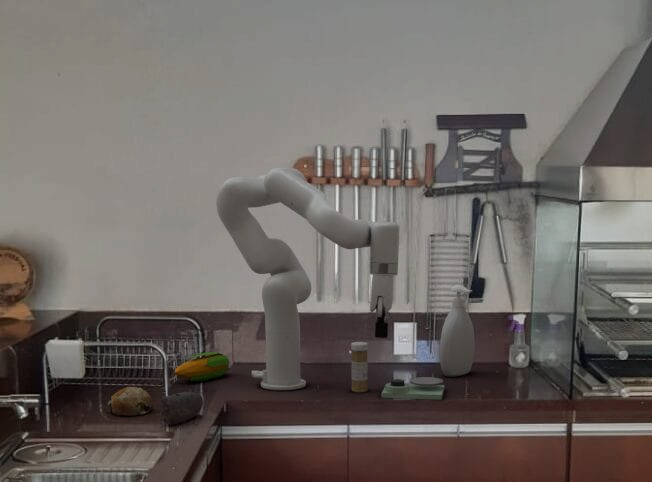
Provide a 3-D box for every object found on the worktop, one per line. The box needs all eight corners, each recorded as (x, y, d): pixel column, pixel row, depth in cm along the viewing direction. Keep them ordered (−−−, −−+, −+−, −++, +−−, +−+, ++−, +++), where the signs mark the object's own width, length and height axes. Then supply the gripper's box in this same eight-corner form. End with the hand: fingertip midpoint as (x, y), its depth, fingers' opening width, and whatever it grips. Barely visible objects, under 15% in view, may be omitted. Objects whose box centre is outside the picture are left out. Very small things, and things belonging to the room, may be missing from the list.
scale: (381, 398, 239) (381, 387, 238) (387, 388, 251) (387, 377, 250) (441, 400, 237) (441, 389, 236) (444, 390, 249) (444, 379, 248)
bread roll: (129, 432, 216) (139, 404, 214) (96, 410, 219) (107, 382, 217) (154, 422, 226) (164, 395, 223) (123, 401, 228) (133, 375, 226)
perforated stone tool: (193, 412, 221) (193, 384, 220) (211, 414, 219) (210, 387, 218) (153, 426, 208) (152, 397, 207) (172, 429, 206) (171, 399, 205)
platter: (408, 385, 241) (408, 383, 240) (412, 378, 249) (412, 376, 249) (442, 386, 240) (442, 384, 239) (444, 379, 248) (444, 377, 248)
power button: (390, 387, 239) (390, 381, 239) (391, 384, 243) (391, 379, 243) (403, 387, 239) (403, 382, 239) (405, 385, 242) (405, 379, 242)
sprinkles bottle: (361, 388, 250) (361, 340, 247) (371, 391, 246) (371, 343, 244) (347, 390, 247) (347, 342, 245) (357, 393, 243) (357, 344, 241)
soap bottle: (453, 380, 261) (455, 288, 256) (432, 376, 267) (434, 285, 262) (484, 373, 272) (486, 284, 267) (463, 369, 277) (465, 282, 272)
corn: (235, 349, 265) (183, 359, 248) (237, 374, 266) (185, 386, 249) (217, 348, 269) (165, 358, 253) (219, 373, 270) (167, 384, 254)
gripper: (373, 265, 245) (371, 332, 249) (365, 270, 231) (363, 341, 234) (401, 267, 244) (398, 333, 248) (394, 272, 230) (391, 342, 233)
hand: (381, 337), depth 241 cm, fingers closed
